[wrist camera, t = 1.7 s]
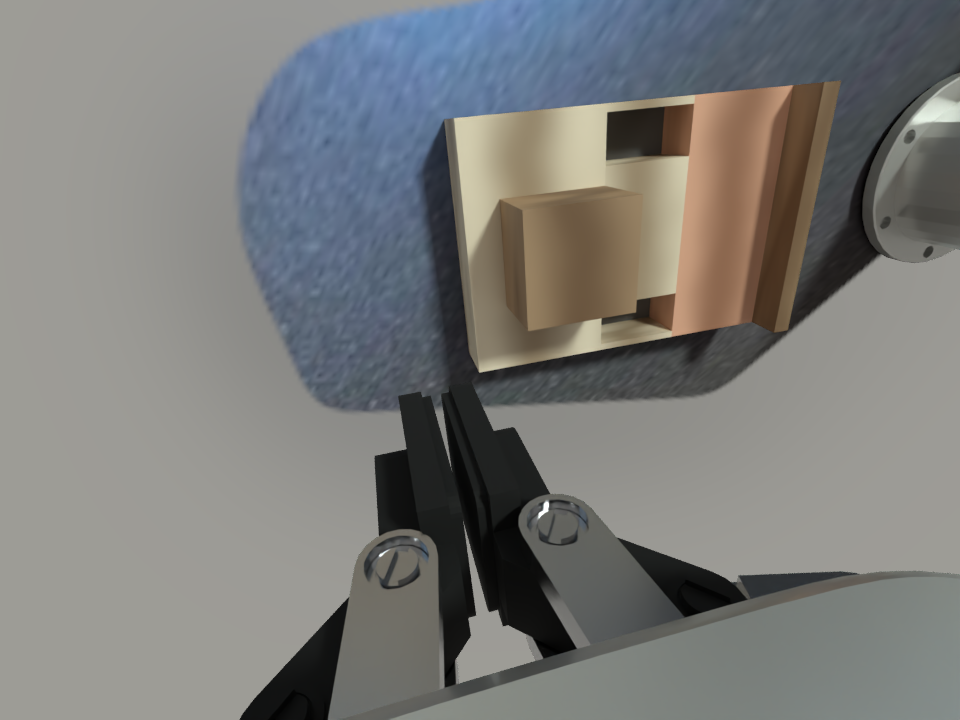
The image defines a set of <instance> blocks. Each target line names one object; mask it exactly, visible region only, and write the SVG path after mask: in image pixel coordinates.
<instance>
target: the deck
mask: <svg viewBox="0 0 960 720" xmlns="http://www.w3.org/2000/svg"><path fill="white" fill-rule="evenodd" d="M840 83H841V81H832V82H822V83H812V84H802V85H792V86H782V87H772V88H761V89H751V90H741V91H730V92H720V93H710V94H700V95H689V96H679V97H669V98H658V99H648V100H638V101H627V102H617V103H607V104H596V105H586V106H576V107H566V108H555V109H545V110H535V111H524V112H514V113H504V114H493V115H483V116H473V117H463V118H452V119H444V123H445V132H446V141H447V151H448V160H449V169H450V179H451V188H452V197H453V206H454V216H455V225H456V234H457V244H458V253H459V262H460V271H461V281H462V290H463V299H464V308H465V318H466V327H467V336H468V346H469V353H470V355H471V357H472V359H473V361H474V363H475V365H476V367H477V369H478V371H479V373H480V372H485V371H491V370H496V369H501V368H507V367H512V366H517V365H523V364H528V363H534V362H539V361H544V360H550V359H555V358H560V357H566V356H571V355H576V354H582V353H587V352H592V351H598V350H603V349H609V348H614V347H619V346H625V345H630V344H635V343H641V342H646V341H651V340H657V339H662V338H668V337H673V336H678V335H684V334H689V333H694V332H700V331H705V330H710V329H716V328H721V327H727V326H732V325H737V324H743V323H748V322H753V323H755V324H757V325H759V326H761V327H763V328H765V329H768V330H770V331H772V332H774V333H775V332H780V331H786V330H788V326H789V321H790V317H791V312H792V307H793V303H794V298H795V293H796V289H797V284H798V279H799V275H800V270H801V265H802V261H803V256H804V251H805V247H806V242H807V237H808V233H809V228H810V223H811V218H812V214H813V209H814V204H815V200H816V195H817V190H818V186H819V181H820V176H821V172H822V167H823V162H824V158H825V153H826V148H827V144H828V139H829V134H830V130H831V125H832V120H833V116H834V111H835V106H836V102H837V97H838V92H839V88H840ZM599 186H609V187H613V188H617V189H622V190H626V191H631V192H635V193H639V194H643V205H642V221H641V238H640V254H639V271H638V287H637V304H636V312H635V313H629V314H624V315H618V316H612V317H606V318H601V319H595V320H589V321H584V322H578V323H572V324H566V325H561V326H555V327H549V328H544V329H538V330H532V331H527V329H526V328H525V327H524V326H523V325H522V324H521V322H520V321H519V320H518V319H517V318H516V316H515V315H514V314H513V313H512V312H511V311H510V309H509V308H508V307H507V304H506V289H505V274H504V259H503V244H502V229H501V214H500V199H504V198H512V197H520V196H528V195H536V194H544V193H552V192H560V191H567V190H575V189H583V188H591V187H599Z"/></svg>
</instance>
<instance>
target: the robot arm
mask: <svg viewBox="0 0 960 720" xmlns="http://www.w3.org/2000/svg"><path fill="white" fill-rule="evenodd" d="M862 217H863V223H864V228H865V232H866V234H867V237H868V239H869V241H870V243H871V244H872V245H873V247H874V248H875V249H876V250H877V251H878V252H879V253H881V254H883V255H884V256H886V257H888V258H892V259H895V260H899V261H903V262H911V263H919V262H926V261H929V260H933V259H936V258H938V257H941V256H943V255H945V254H947V253H949V252H951V251H952V250H955V249H959V250H960V73H958V74H954V75H952V76H950V77H948V78H946V79H944V80H942V81H940V82H938V83H937V84H935V85H934V86H933V87H931V88H930V89H929V90H927V91H926V92H924V93H923V94H922V95H921V96H920V97H919V98H918V99H916V100H915V101H914V102H913V103H912V104H911V105H910V106H909V107H908V108H907V109H906V110H905V112H904V113H903V114H902V115H901V117H900V118H899V119H898V120H897V122H896V123H895V124H894V125H893V127H892V128H891V130H890V131H889V133H888V134H887V136H886V138H885V139H884V141H883V142H882V144H881V146H880V148H879V150H878V152H877V154H876V156H875V158H874V160H873V163H872V165H871V168H870V171H869V174H868V177H867V180H866V184H865V190H864V195H863V209H862ZM441 397H442V404H443V411H444V418H445V425H446V432H447V439H448V446H449V453H450V460H451V467H452V470H451V467H450V463H449V460H448V456H447V453H446V449H445V446H444V442H443V438H442V435H441V431H440V428H439V424H438V421H437V417H436V414H435V410H434V406H433V403H432V399H431V396H427V397H422V395H421V392H417V393H411V394H406V395H401V396H398V398H399V404H400V410H401V416H402V423H403V429H404V435H405V441H406V447H407V449H406V450H401V451H396V452H392V453H387V454H382V455H377V456H375V474H376V492H377V508H378V526H379V537H377V538H375V539H374V540H373V541H371V542H370V543H369V544H368V545H366V546H365V548H364V549H363V551H362V552H361V553H360V554H359V556H358V559H357V561H356V564H355V567H354V573H353V579H352V584H351V590H350V596H349V598H348V599H347V600H346V601H345V602H344V603H343V604H342V605H341V606H340V607H339V608H338V609H337V610H336V611H335V613H334V614H333V615H332V616H331V617H330V618H329V619H328V620H327V621H326V622H325V623H324V624H323V625H322V627H321V628H320V629H319V630H318V631H317V632H316V633H315V634H314V635H313V636H312V637H311V638H310V639H309V641H308V642H307V643H306V644H305V645H304V646H303V647H302V648H301V649H300V650H299V651H298V652H297V653H296V655H295V656H294V657H293V658H292V659H291V660H290V661H289V662H288V663H287V664H286V665H285V666H284V668H283V669H282V670H281V671H280V672H279V673H278V674H277V675H276V676H275V677H274V678H273V679H272V680H271V682H270V683H269V684H268V685H267V686H266V687H265V688H264V689H263V690H262V691H261V692H260V693H259V694H258V695H257V697H256V698H255V699H254V700H253V701H252V703H251V704H250V705H249V707H248V708H247V709H246V710H245V712H244V713H243V715H242V716H241V718H240V720H960V575H959V574H949V573H935V572H923V571H890V572H875V573H867V574H857V573H851V572H841V571H839V572H813V573H788V574H764V575H739V576H738V579H737V582H730V581H728V580H727V579H726V578H724V577H722V576H720V575H718V574H716V573H713V572H711V571H709V570H706V569H703V568H700V567H697V566H694V565H692V564H689V563H686V562H683V561H681V560H678V559H675V558H672V557H670V556H667V555H664V554H661V553H659V552H655V551H653V550H650V549H647V548H644V547H642V546H639V545H636V544H634V543H631V542H628V541H625V540H622V539H620V538H617V537H616V536H615V535H614V534H613V533H612V532H611V530H610V529H609V528H608V527H607V526H606V525H605V524H604V522H603V521H602V520H601V519H600V518H599V516H598V515H597V514H596V513H595V512H594V511H593V509H592V508H591V507H589V506H588V505H587V504H586V503H585V502H584V501H581V500H579V499H577V498H575V497H573V496H569V495H564V494H550V493H549V491H548V489H547V487H546V485H545V484H544V482H543V480H542V478H541V476H540V474H539V472H538V470H537V468H536V467H535V465H534V463H533V461H532V459H531V457H530V456H529V453H528V452H527V450H526V448H525V446H524V444H523V443H522V440H521V438H520V437H519V435H518V433H517V431H516V430H515V428H513V427H511V428H506V429H502V430H497V431H493V429H492V426H491V424H490V422H489V420H488V418H487V416H486V413H485V411H484V409H483V407H482V405H481V402H480V400H479V398H478V396H477V394H476V392H475V389H474V387H473V385H472V383H471V382H469V383H464V384H459V385H453V386H449V392H448V393H443V394H441ZM463 521H464V525H465V528H466V532H467V536H468V539H469V543H470V546H471V550H472V554H473V558H474V561H475V565H476V568H477V572H478V575H479V579H480V583H481V586H482V590H483V594H484V597H485V601H486V605H487V608H488V611H489V612H491V611H495V610H498V611H499V615H500V618H501V621H502V625H503V626H506V625H509V626H511V627H513V628H515V629H517V630H519V631H521V632H523V633H525V634H526V639H527V642H528V645H529V648H530V650H531V652H532V654H533V656H534V658H535V660H536V661H534V662H531V663H527V664H524V665H521V666H517V667H514V668H510V669H507V670H504V671H500V672H497V673H493V674H490V675H487V676H483V677H480V678H476V679H473V680H470V681H466V682H463V683H460V684H459V679H458V666H457V661H456V658H457V657H458V655H459V653H460V652H461V650H462V649H463V647H464V645H465V644H466V642H467V641H468V639H469V638H470V636H471V634H470V627H469V621H468V618H469V617H473V616H476V611H475V603H474V597H473V589H472V582H471V574H470V567H469V560H468V553H467V545H466V538H465V531H464V525H463Z"/></svg>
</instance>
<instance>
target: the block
mask: <svg viewBox="0 0 960 720" xmlns="http://www.w3.org/2000/svg"><path fill="white" fill-rule="evenodd" d="M642 205H643V194H639V193H635V192H631V191H626V190H622V189H617V188H613V187H609V186H599V187H591V188H583V189H575V190H567V191H560V192H552V193H544V194H536V195H528V196H520V197H512V198H504V199H500V214H501V229H502V244H503V259H504V274H505V289H506V304H507V307H508V308H509V309H510V311H511V312H512V313H513V314H514V315H515V316H516V318H517V319H518V320H519V321H520V322H521V324H522V325H523V326H524V327H525V328H526V329H527V331H532V330H538V329H544V328H549V327H555V326H561V325H566V324H572V323H578V322H584V321H589V320H595V319H601V318H606V317H612V316H618V315H624V314H629V313H635V312H636V304H637V287H638V271H639V254H640V238H641V221H642Z"/></svg>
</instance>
